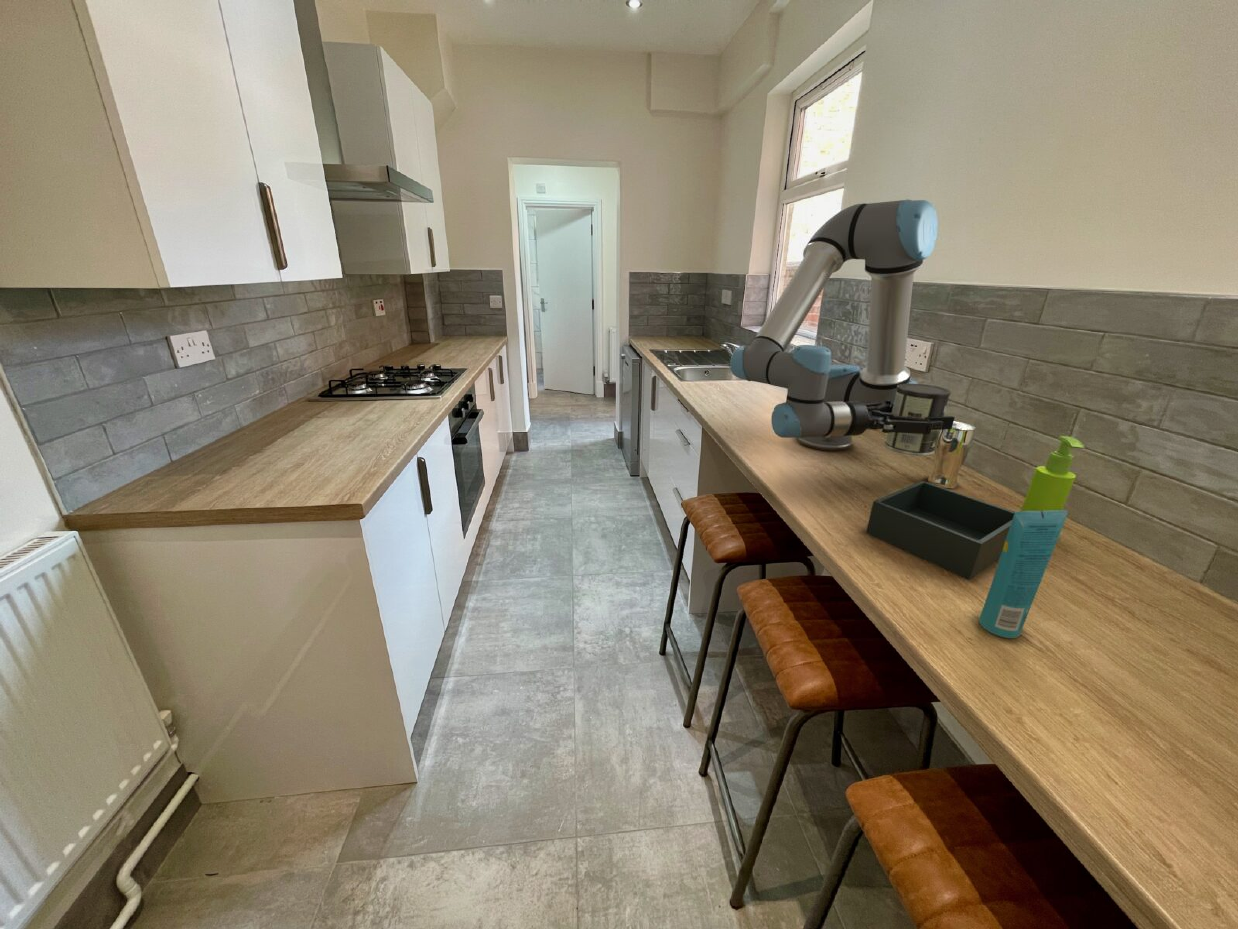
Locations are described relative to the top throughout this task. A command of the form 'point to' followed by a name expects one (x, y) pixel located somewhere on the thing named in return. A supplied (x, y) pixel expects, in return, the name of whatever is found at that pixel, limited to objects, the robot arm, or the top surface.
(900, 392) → the coffee can
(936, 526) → the storage bin
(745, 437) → the top surface
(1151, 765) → the top surface
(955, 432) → the silver metal cylinder
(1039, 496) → the soap dispenser
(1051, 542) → the tube
